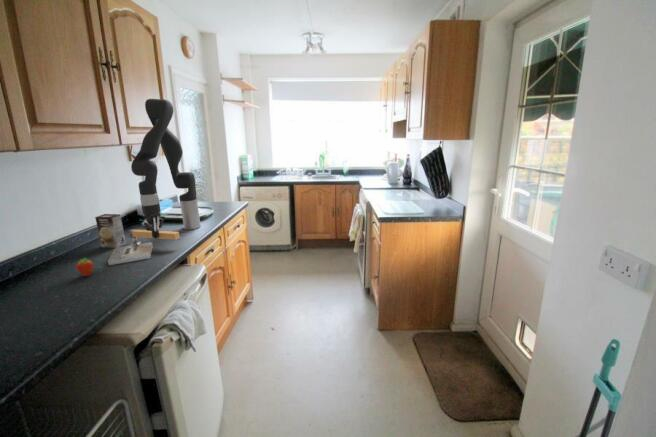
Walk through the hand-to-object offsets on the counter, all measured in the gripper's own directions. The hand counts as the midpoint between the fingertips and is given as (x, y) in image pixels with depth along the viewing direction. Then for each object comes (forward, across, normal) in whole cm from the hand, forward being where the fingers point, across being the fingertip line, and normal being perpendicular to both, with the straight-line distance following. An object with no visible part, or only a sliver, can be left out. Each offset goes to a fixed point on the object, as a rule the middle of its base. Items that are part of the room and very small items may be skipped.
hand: (156, 237), depth 150 cm
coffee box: (+6, -1, -28) cm, 28 cm away
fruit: (+7, +30, -7) cm, 32 cm away
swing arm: (+1, -3, -5) cm, 6 cm away
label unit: (+6, +8, -7) cm, 13 cm away
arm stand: (+6, -3, -17) cm, 18 cm away
